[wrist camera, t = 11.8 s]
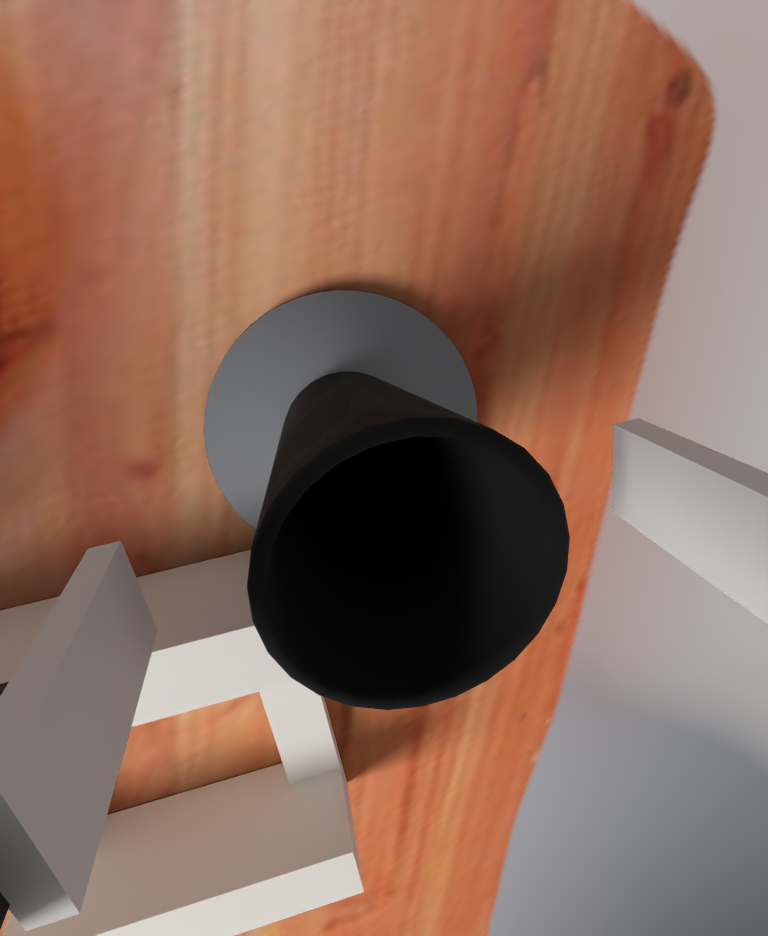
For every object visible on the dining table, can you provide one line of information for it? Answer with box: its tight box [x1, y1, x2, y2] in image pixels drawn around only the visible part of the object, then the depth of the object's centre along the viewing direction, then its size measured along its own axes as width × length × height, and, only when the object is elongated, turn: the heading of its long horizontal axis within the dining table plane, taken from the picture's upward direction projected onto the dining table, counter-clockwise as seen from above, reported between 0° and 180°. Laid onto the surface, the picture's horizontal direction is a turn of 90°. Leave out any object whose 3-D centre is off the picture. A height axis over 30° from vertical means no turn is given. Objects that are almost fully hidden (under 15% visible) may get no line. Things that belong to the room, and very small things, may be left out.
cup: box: [247, 371, 570, 710], centre depth 18 cm, size 8×8×12 cm
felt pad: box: [204, 290, 478, 530], centre depth 24 cm, size 12×12×1 cm
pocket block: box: [0, 550, 364, 936], centre depth 25 cm, size 16×16×6 cm
